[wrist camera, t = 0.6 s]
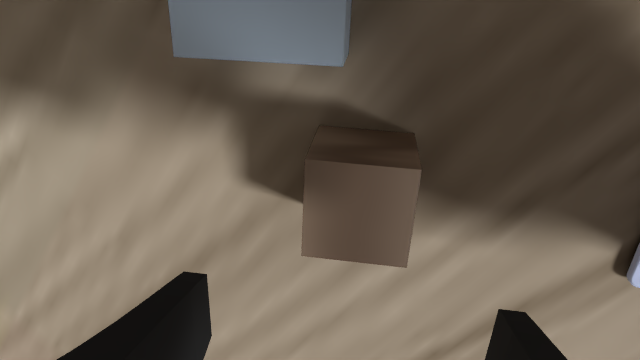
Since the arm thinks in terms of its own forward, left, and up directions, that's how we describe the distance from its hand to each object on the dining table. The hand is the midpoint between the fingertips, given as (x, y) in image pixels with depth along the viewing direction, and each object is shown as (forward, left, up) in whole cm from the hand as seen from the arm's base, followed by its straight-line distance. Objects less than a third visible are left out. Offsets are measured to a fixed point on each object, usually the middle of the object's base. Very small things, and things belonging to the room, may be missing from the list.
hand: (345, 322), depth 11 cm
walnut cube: (0, 0, -10) cm, 10 cm away
